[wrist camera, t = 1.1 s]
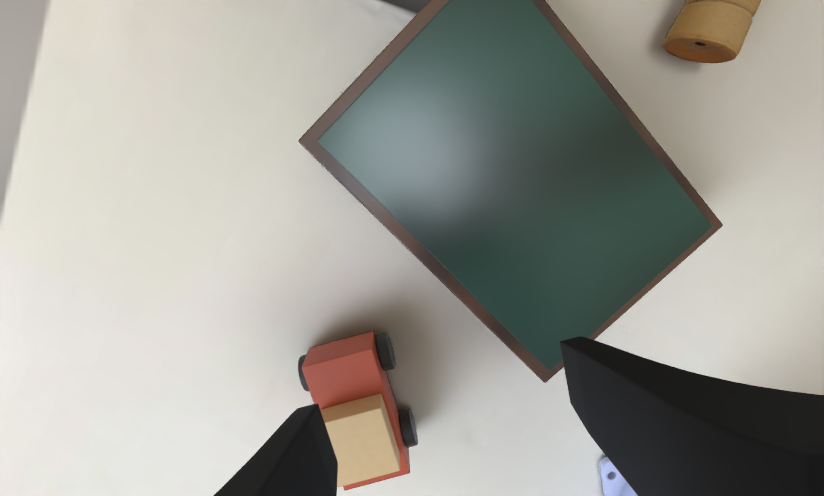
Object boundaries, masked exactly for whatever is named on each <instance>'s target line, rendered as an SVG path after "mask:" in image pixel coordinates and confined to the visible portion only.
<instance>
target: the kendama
mask: <svg viewBox="0 0 824 496" xmlns="http://www.w3.org/2000/svg"><path fill="white" fill-rule="evenodd" d="M760 2H761V0H687V1H686V3H685V5H684V7H683V8H682V10H681V11H680V13H679V15H678V17H677V18H676V20H675V22H674V23H673V25H672V27H671V29H670V30H669V32H668V34H667V35H666V37H665V40H664V41H663V44H662V45H663V47H664V48H665V49H666V50H667V51H668V52H669V53H671V54H673V55H675V56H678V57H680V58H683V59H686V60H690V61H695V62H702V63H722V62H727V61H731V60H733V59H735V58H736V56H737V55H738V53H739V51H740V49H741V46H742V44H743V42H744V39H745V37H746V34H747V32H748V30H749V27H750V25H751V23H752V17H753V16H754V15H755V13H756V11H757V9H758V7H759V4H760Z"/></svg>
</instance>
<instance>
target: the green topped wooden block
mask: <svg viewBox="0 0 824 496" xmlns="http://www.w3.org/2000/svg"><path fill="white" fill-rule="evenodd" d="M299 143H300V144H301V145H302V146H303V147H304V148H305V149H307V150H308V151H309V152H310V153H311V154H312V155H313V156H314V157H315V158H316V159H317V160H318V161H319V162H320V163H321V164H322V165H323V166H324V167H325V168H326V169H327V170H328V171H329V172H330V173H331V174H332V175H333V176H334V177H335V178H336V179H337V180H338V181H339V182H340V183H341V184H342V185H343V186H344V187H345V188H346V189H347V190H348V191H349V192H350V193H351V194H352V195H353V196H354V197H355V198H356V199H358V200H359V201H360V202H361V203H362V204H363V205H364V206H365V207H366V208H367V209H368V210H369V211H370V212H371V213H372V214H373V215H374V216H375V217H376V218H377V219H378V220H379V221H380V222H381V223H382V224H383V225H384V226H385V227H386V228H387V229H388V230H389V231H390V232H391V233H392V234H393V235H394V236H395V237H396V238H397V239H398V240H399V241H400V242H401V243H402V244H403V245H404V246H405V247H406V248H407V249H409V250H410V251H411V252H412V253H413V254H414V255H415V256H416V257H417V258H418V259H419V260H420V261H421V262H422V263H423V264H424V265H425V266H426V267H427V268H428V269H429V270H430V271H431V272H432V273H433V274H434V275H435V276H436V277H437V278H438V279H439V280H440V281H441V282H442V283H443V284H444V285H445V286H446V287H447V288H448V289H449V290H450V291H451V292H452V293H453V294H454V295H455V296H456V297H457V298H458V299H460V300H461V301H462V302H463V303H464V304H465V305H466V306H467V307H468V308H469V309H470V310H471V311H472V312H473V313H474V314H475V315H476V316H477V317H478V318H479V319H480V320H481V321H482V322H483V323H484V324H485V325H486V326H487V327H488V328H489V329H490V330H491V331H492V332H493V333H494V334H495V335H496V336H497V337H498V338H499V339H500V340H501V341H502V342H503V343H504V344H505V345H506V346H507V347H508V348H509V349H511V350H512V351H513V352H514V353H515V354H516V355H517V356H518V357H519V358H520V359H521V360H522V361H523V362H524V363H525V364H526V365H527V366H528V367H529V368H530V369H531V370H532V371H533V372H534V373H535V374H536V375H537V376H538V377H539V378H540V379H541V380H542V381H543V382H547V381H548V380H549V379H550V378H551V377H553V376H554V375H555V374H556V373H557V372H558V371H559V370H560V369H562V368H563V367H564V363H563V357H562V351H561V346H560V341H563V340H567V339H571V338H575V337H579V336H582V337H585V338H589V339H592V340H594V339H595V338H597V337H598V336H599V335H600V334H601V333H602V332H603V331H604V330H606V329H607V328H608V327H609V326H610V325H611V324H612V323H613V322H615V321H616V320H617V319H618V318H619V317H620V316H621V315H623V314H624V313H625V312H626V311H627V310H628V309H629V308H630V307H632V306H633V305H634V304H635V303H636V302H637V301H638V300H639V299H641V298H642V297H643V296H644V295H645V294H646V293H647V292H648V291H650V290H651V289H652V288H653V287H654V286H655V285H656V284H657V283H659V282H660V281H661V280H662V279H663V278H664V277H665V276H667V275H668V274H669V273H670V272H671V271H672V270H673V269H674V268H676V267H677V266H678V265H679V264H680V263H681V262H682V261H683V260H685V259H686V258H687V257H688V256H689V255H690V254H691V253H692V252H694V251H695V250H696V249H697V248H698V247H699V246H700V245H702V244H703V243H704V242H705V241H706V240H707V239H708V238H709V237H711V236H712V235H713V234H714V233H715V232H716V231H717V230H718V229H720V228H721V227H722V226H723V224H722V223H721V222H720V221H719V219H718V218H717V217H716V216H715V214H714V213H713V212H712V210H711V209H710V208H709V207H708V205H707V204H706V203H705V202H704V200H703V199H702V198H701V197H700V195H699V194H698V193H697V192H696V190H695V189H694V188H693V187H692V185H691V184H690V183H689V181H688V180H687V179H686V178H685V176H684V175H683V174H682V173H681V171H680V170H679V169H678V168H677V166H676V165H675V164H674V163H673V161H672V160H671V159H670V158H669V156H668V155H667V154H666V152H665V151H664V150H663V149H662V147H661V146H660V145H659V144H658V142H657V141H656V140H655V139H654V137H653V136H652V135H651V134H650V132H649V131H648V130H647V129H646V127H645V126H644V125H643V124H642V122H641V121H640V120H639V118H638V117H637V116H636V115H635V113H634V112H633V111H632V110H631V108H630V107H629V106H628V105H627V103H626V102H625V101H624V100H623V98H622V97H621V96H620V95H619V93H618V92H617V91H616V89H615V88H614V87H613V86H612V84H611V83H610V82H609V81H608V79H607V78H606V77H605V76H604V74H603V73H602V72H601V71H600V69H599V68H598V67H597V66H596V64H595V63H594V62H593V60H592V59H591V58H590V57H589V55H588V54H587V53H586V52H585V50H584V49H583V48H582V47H581V45H580V44H579V43H578V42H577V40H576V39H575V38H574V37H573V35H572V34H571V33H570V31H569V30H568V29H567V28H566V26H565V25H564V24H563V23H562V21H561V20H560V19H559V18H558V16H557V15H556V14H555V13H554V11H553V10H552V9H551V8H550V6H549V5H548V4H547V3H546V1H545V0H430V1H429V2H428V3H427V4H426V5H425V6H424V8H423V9H422V10H421V11H420V12H419V13H418V14H417V15H416V16H415V17H414V18H413V19H412V20H411V21H410V22H409V23H408V24H407V26H406V27H405V28H404V29H403V30H402V31H401V32H400V33H399V34H398V35H397V36H396V37H395V38H394V39H393V40H392V41H391V43H390V44H389V45H388V46H387V47H386V48H385V49H384V50H383V51H382V52H381V53H380V54H379V55H378V56H377V57H376V58H375V60H374V61H373V62H372V63H371V64H370V65H369V66H368V67H367V68H366V69H365V70H364V71H363V72H362V73H361V74H360V75H359V76H358V78H357V79H356V80H355V81H354V82H353V83H352V84H351V85H350V86H349V87H348V88H347V89H346V90H345V91H344V92H343V93H342V95H341V96H340V97H339V98H338V99H337V100H336V101H335V102H334V103H333V104H332V105H331V106H330V107H329V108H328V109H327V110H326V112H325V113H324V114H323V115H322V116H321V117H320V118H319V119H318V120H317V121H316V122H315V123H314V124H313V125H312V126H311V127H310V129H309V130H308V131H307V132H306V133H305V134H304V135H303V136H302V137H301V138H300V139H299Z"/></svg>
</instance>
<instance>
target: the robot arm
mask: <svg viewBox="0 0 824 496" xmlns="http://www.w3.org/2000/svg"><path fill="white" fill-rule="evenodd" d="M560 346H561V351H562V357H563V363H564V368H565V374H566V379H567V385H568V390H569V396H570V402H571V404H572V406H573V408H574V409H575V411H576V413H577V414H578V416H579V418H580V420H581V421H582V423H583V424H584V426H585V428H586V429H587V431H588V433H589V434H590V435H591V437H592V438H593V439H594V441H595V442H596V443H597V444H598V446H599V447H600V448H601V450H602V451H603V452H604V453H605V455H606V456H607V457H605V458H603V459H602V460H601V461H600V463H599V468H600V474H601V479H602V484H603V490H604V495H605V496H824V395H815V394H807V393H799V392H791V391H784V390H778V389H771V388H765V387H758V386H752V385H747V384H742V383H736V382H731V381H727V380H722V379H718V378H713V377H709V376H704V375H700V374H696V373H693V372H689V371H685V370H682V369H678V368H675V367H671V366H668V365H665V364H661V363H658V362H655V361H652V360H649V359H646V358H643V357H640V356H637V355H634V354H631V353H628V352H625V351H623V350H620V349H617V348H614V347H612V346H609V345H606V344H603V343H600V342H598V341H595V340H592V339H589V338H585V337H582V336H579V337H575V338H571V339H567V340H563V341H560ZM610 472H611V473H610ZM609 473H610V474H609ZM337 474H338V461H337V458H336V455H335V452H334V449H333V446H332V443H331V440H330V437H329V434H328V431H327V428H326V425H325V422H324V419H323V416H322V414H321V411H320V408H319V405H318V403H317V404H313V405H309V406H305V407H301V408H298V409H297V410H295V411H294V412H293V413H292V414H291V415H290V416H289V417H288V418H287V419H286V421H285V422H284V423H283V424H282V425H281V426H280V427H279V428H278V429H277V430H276V432H275V433H274V434H273V435H272V436H271V437H270V438H269V439H268V440H267V441H266V443H265V444H264V445H263V446H262V447H261V448H260V449H259V450H258V451H257V452H256V453H255V455H254V456H253V457H252V458H251V459H250V460H249V461H248V462H247V463H246V464H245V465H244V466H243V467H242V468H241V469H240V470H239V471H238V472H237V473H236V474H235V475H234V476H233V477H232V478H231V479H230V480H229V481H228V482H227V483H226V484H225V485H224V486H223V487H222V488H221V489H220V490H219V491H218V492H217V493H216V494H215V495H214V496H336V492H337Z"/></svg>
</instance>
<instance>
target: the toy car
mask: <svg viewBox="0 0 824 496" xmlns="http://www.w3.org/2000/svg"><path fill="white" fill-rule="evenodd" d="M395 366H396V364H395V357H394V352H393V348H392V344H391V341H390V338H389V336H388V334H387V333H385V334H381V335H378V336H376V337H375V334H374V331H372V332H369V333H365V334H361V335H357V336H354V337H350V338H346V339H342V340H339V341H335V342H331V343H327V344H324V345H320V346H316V347H312V348H310V349H309V351H308V353H307V355H303V356H301V357H300V358H299V362H298V372H299V377H300V381H301V384H302V386H303V388H304V389H305V390H306V391H310V393H311V396H312V399H313V402H314V404H317V403H318V405H319V408H320V411H321V414H322V416H323V419H324V422H325V425H326V428H327V431H328V434H329V437H330V440H331V443H332V446H333V449H334V452H335V455H336V458H337V461H338V474H337V486H338V487H341V486H343V487H344V490H349V489H352V488H356V487H360V486H364V485H367V484H371V483H375V482H378V481H382V480H386V479H390V478H393V477H397V476H401V475H404V474H408V473H410V464H409V449H408V447H411V446H415V445H417V444H418V439H417V432H416V428H415V423H414V419H413V416H412V413H411V411H410V409H408V410H404V411H401V412H399V413H398V410H397V407H396V403H395V400H394V397H393V393H392V390H391V387H390V383H389V380H388V377H387V373H386V371H387V370H390V369H394V368H395Z"/></svg>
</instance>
